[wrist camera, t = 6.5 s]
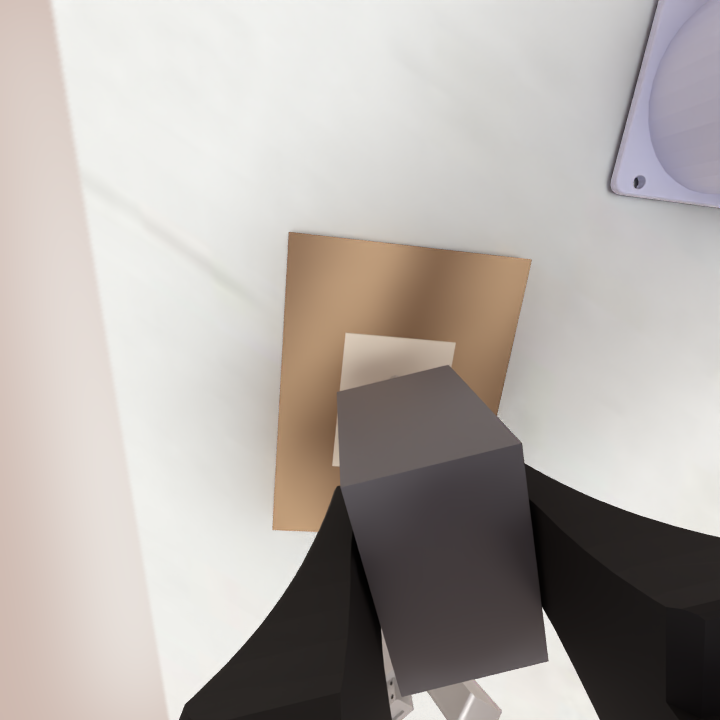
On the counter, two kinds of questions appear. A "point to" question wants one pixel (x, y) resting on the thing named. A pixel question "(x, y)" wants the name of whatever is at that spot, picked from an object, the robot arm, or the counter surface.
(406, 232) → the counter surface
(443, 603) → the block
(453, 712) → the lighter
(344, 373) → the board
